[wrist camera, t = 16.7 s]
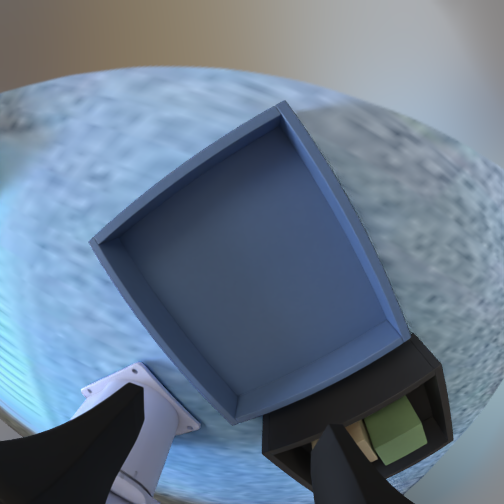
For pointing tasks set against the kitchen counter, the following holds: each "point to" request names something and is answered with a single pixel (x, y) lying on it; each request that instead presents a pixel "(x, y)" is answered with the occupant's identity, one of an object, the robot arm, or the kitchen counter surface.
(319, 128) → the kitchen counter surface
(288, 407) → the black basket
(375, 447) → the green cube
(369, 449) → the cream cube
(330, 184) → the blue box
